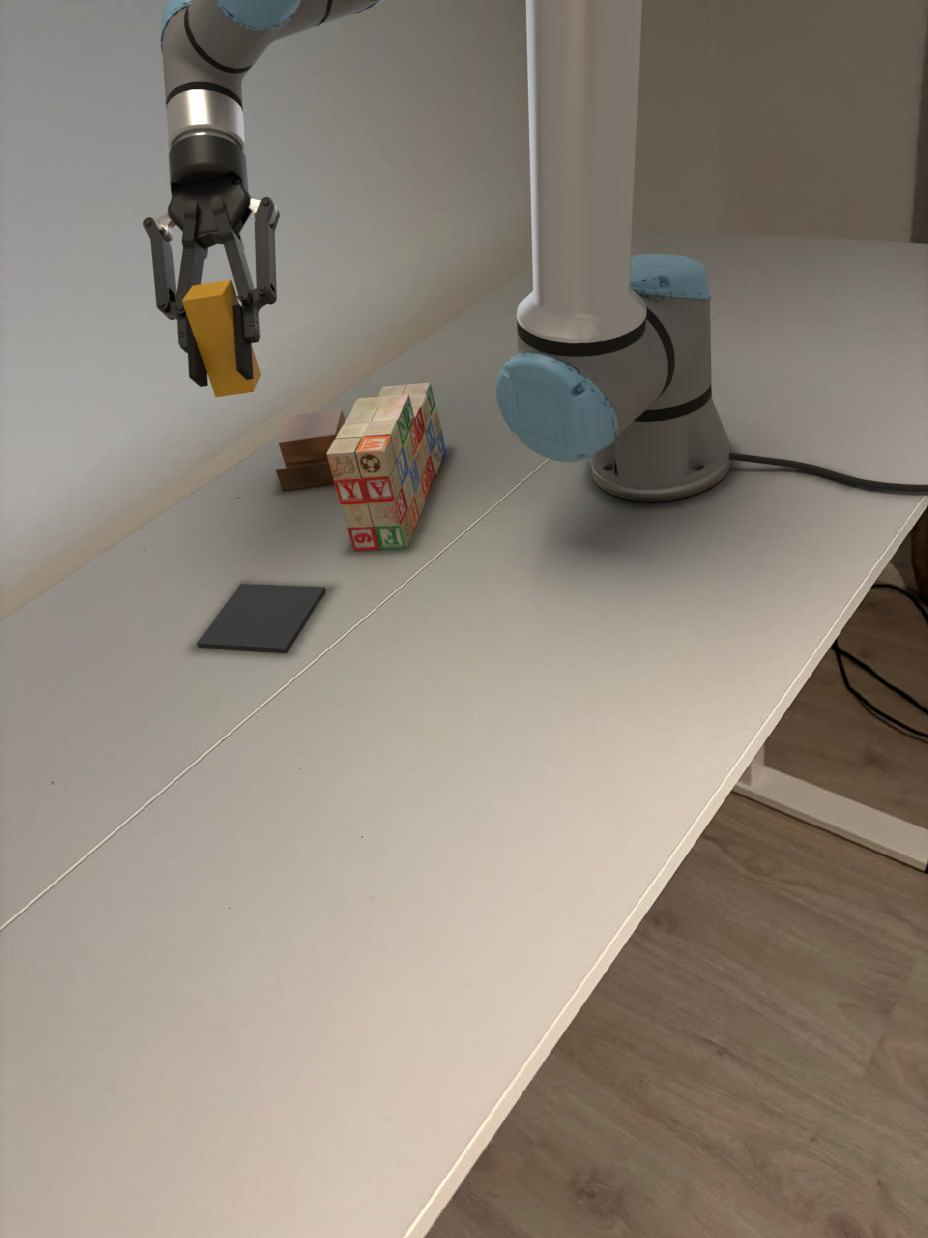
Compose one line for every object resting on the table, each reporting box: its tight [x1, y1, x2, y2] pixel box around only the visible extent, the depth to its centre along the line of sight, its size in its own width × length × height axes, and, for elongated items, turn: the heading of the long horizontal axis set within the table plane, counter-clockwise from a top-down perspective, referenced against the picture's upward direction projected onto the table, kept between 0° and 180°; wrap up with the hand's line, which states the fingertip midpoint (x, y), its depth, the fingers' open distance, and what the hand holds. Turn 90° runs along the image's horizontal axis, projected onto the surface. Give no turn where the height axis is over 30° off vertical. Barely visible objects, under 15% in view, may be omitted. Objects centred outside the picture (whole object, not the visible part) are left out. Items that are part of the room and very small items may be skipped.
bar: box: [182, 279, 262, 398], centre depth 100 cm, size 4×4×10 cm
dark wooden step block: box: [275, 408, 346, 492], centre depth 127 cm, size 9×9×6 cm
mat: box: [196, 583, 326, 653], centre depth 105 cm, size 10×10×1 cm
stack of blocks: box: [327, 382, 447, 551], centre depth 116 cm, size 21×6×12 cm, turn 169°
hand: (221, 377), depth 99 cm, fingers closed on bar, 4 cm apart
